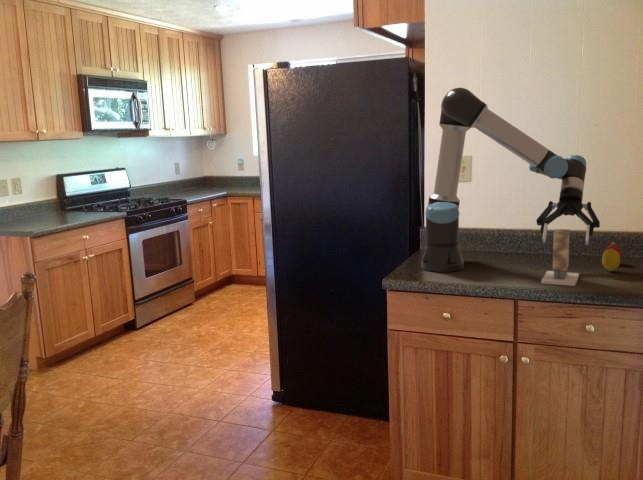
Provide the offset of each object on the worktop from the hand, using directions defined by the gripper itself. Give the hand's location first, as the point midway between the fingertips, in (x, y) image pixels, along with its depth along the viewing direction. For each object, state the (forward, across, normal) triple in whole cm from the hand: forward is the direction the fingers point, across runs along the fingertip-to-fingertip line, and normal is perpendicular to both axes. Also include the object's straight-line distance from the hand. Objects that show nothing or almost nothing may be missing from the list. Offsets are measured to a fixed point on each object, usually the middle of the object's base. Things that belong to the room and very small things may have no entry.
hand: (564, 241), depth 200 cm
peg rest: (+15, 0, 0) cm, 15 cm away
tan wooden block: (+12, 0, +3) cm, 12 cm away
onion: (-5, -14, -21) cm, 26 cm away
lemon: (+3, -14, -12) cm, 19 cm away
